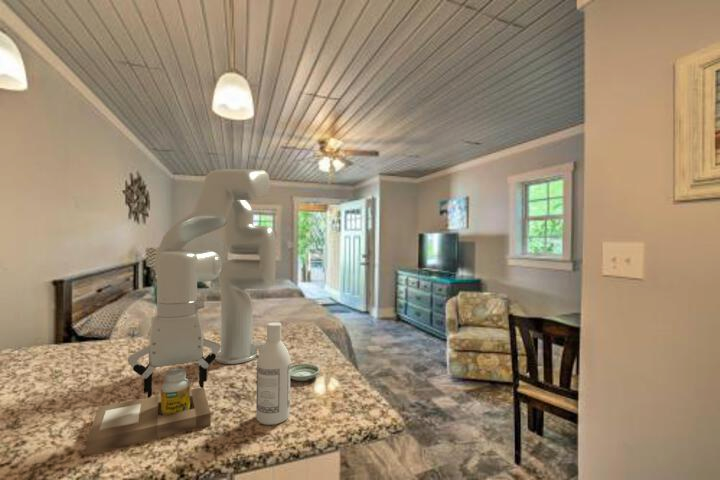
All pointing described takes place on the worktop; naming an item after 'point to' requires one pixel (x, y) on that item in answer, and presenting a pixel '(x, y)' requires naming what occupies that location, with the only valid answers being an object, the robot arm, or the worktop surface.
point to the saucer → (303, 371)
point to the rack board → (144, 422)
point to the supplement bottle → (175, 392)
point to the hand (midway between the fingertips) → (176, 389)
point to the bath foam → (273, 379)
